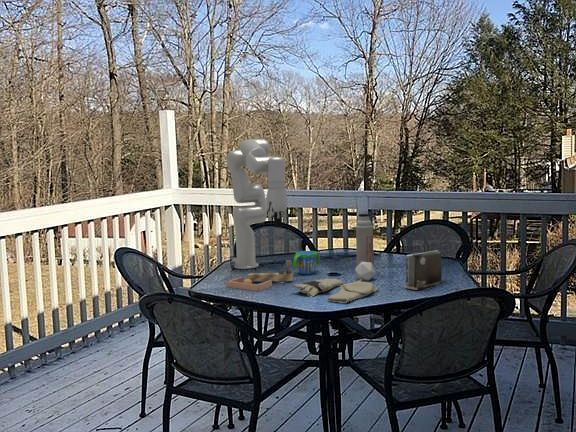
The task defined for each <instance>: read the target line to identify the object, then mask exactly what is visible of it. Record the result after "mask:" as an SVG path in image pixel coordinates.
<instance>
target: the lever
mask: <svg viewBox="0 0 576 432" xmlns="http://www.w3.org/2000/svg"><path fill="white" fill-rule="evenodd" d="M285 270H286V271H284V269H279V270H278V272H261V273H260V272H259V273H255V272H254V273H253V272H252V273H251V272H250V273H248V274H247V279H250V280H251V281H252V282H266V281H269V280H272V282H275V281H288V282H293V281H294V275H293V274H294V273H293V260H292V259H286V260H285Z"/></svg>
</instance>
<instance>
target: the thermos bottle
mask: <svg viewBox="0 0 576 432" xmlns="http://www.w3.org/2000/svg"><path fill="white" fill-rule="evenodd" d="M372 224H373V223H372V220H370V214H369V213H359V214H358V220H357V221H356V226H355V246H356V248H355V250H356V254H355V255H356V267H357V266H358V265H359V264H360V263H361V262H370V263H372V265H373V267H374V268H375V262H374V261H375V260H374V259H375V257H374V254H375V253H374V225H372Z"/></svg>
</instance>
